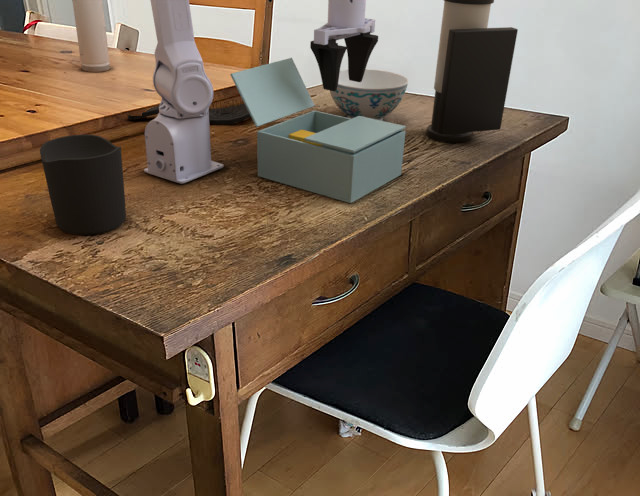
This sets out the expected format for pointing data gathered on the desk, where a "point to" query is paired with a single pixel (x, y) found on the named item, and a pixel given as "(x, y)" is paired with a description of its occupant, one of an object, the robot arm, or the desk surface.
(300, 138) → the yellow block with knob
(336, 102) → the chinaware
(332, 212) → the desk surface
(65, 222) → the pen holder
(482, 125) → the light fixture
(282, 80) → the flap
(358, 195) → the case
